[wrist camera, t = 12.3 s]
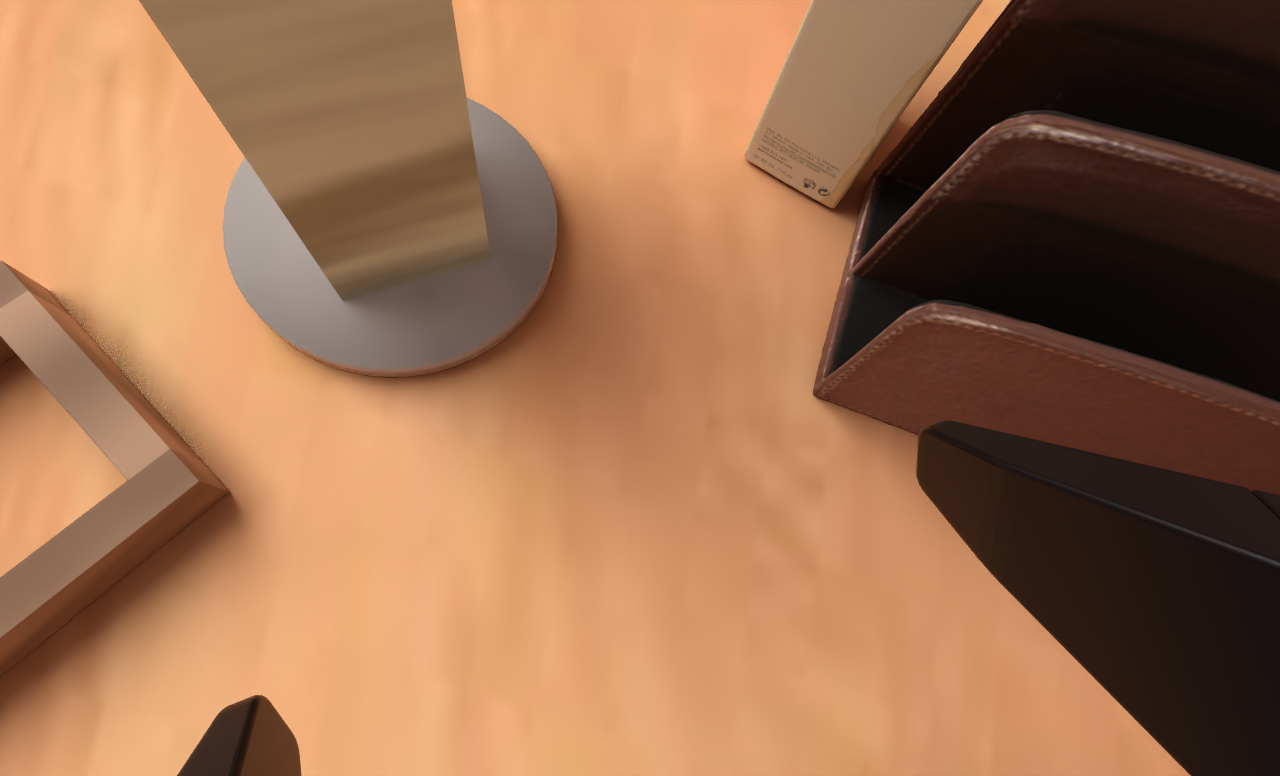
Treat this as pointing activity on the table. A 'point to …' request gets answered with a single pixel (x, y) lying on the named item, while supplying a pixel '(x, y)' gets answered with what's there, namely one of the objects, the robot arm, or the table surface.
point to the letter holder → (1083, 242)
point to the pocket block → (132, 440)
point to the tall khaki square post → (346, 126)
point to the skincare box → (849, 87)
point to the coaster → (417, 311)
